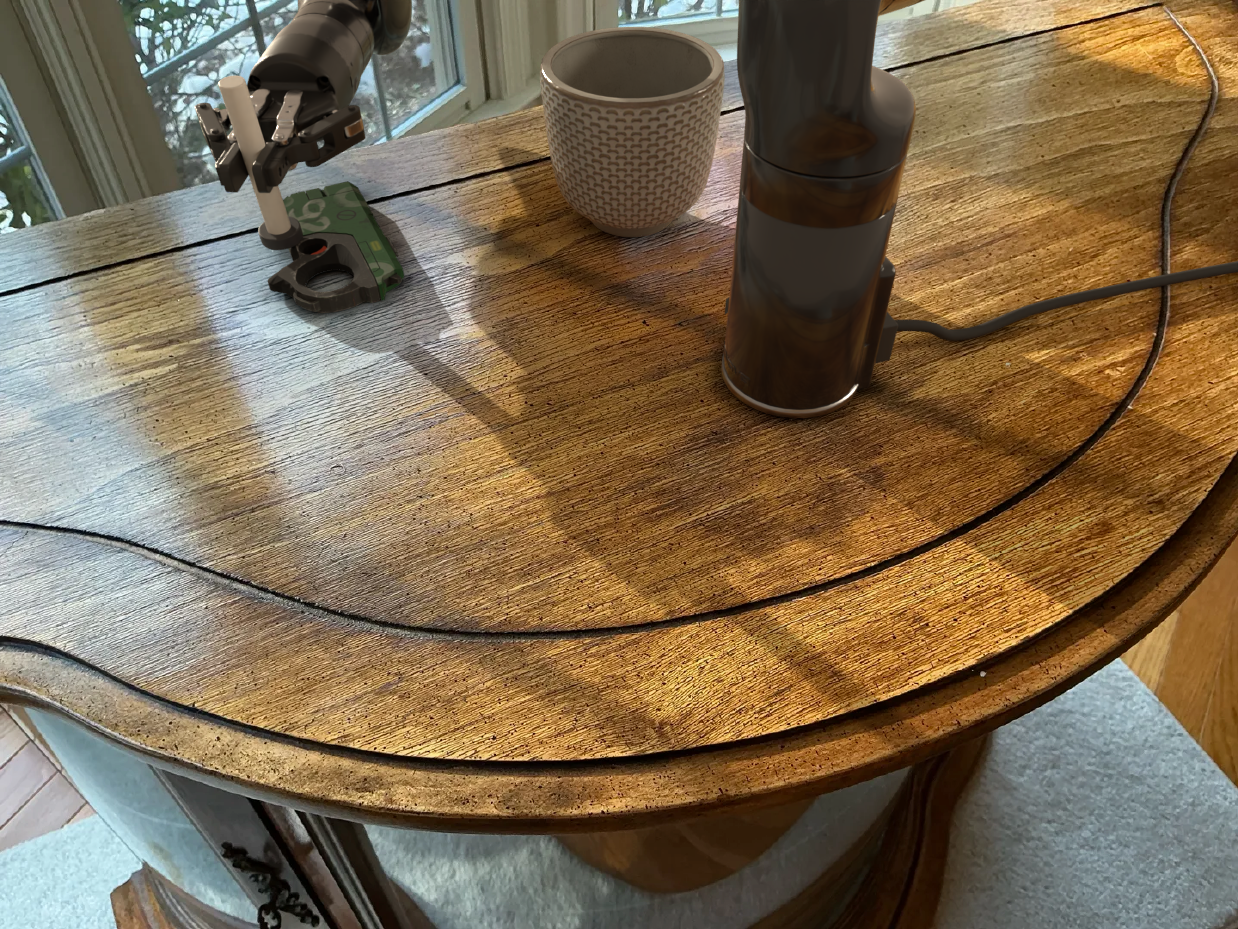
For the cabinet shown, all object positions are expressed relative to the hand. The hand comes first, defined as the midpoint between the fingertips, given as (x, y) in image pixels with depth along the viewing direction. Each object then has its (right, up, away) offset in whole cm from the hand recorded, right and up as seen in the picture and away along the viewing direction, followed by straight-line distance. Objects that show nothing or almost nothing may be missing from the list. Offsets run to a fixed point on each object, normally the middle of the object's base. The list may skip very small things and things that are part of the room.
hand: (244, 180), depth 70 cm
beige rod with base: (0, -2, +7) cm, 8 cm away
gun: (+3, -4, +9) cm, 10 cm away
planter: (+28, +1, +13) cm, 30 cm away
